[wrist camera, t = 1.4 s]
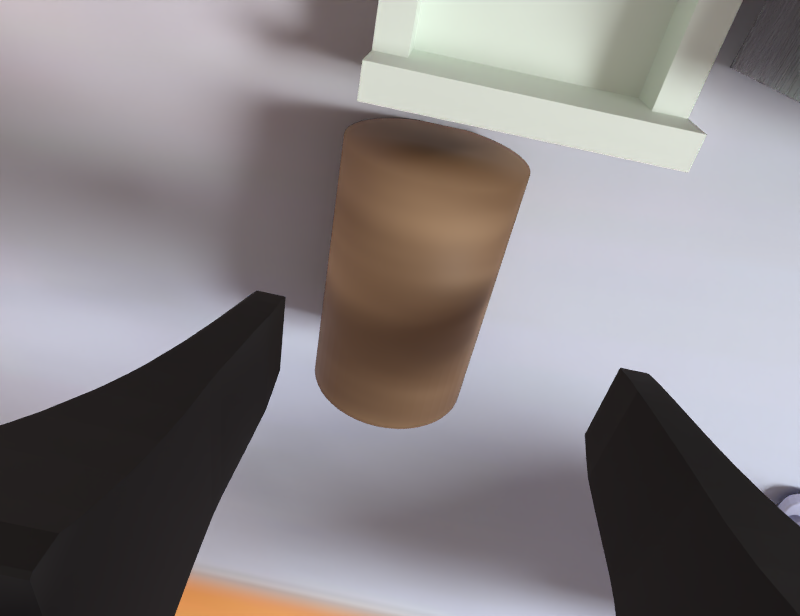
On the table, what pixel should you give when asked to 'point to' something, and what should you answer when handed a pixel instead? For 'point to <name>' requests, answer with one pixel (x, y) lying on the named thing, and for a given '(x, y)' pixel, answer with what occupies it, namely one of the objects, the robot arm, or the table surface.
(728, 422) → the table surface
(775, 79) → the slab
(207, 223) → the table surface
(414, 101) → the cradle
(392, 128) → the roller
